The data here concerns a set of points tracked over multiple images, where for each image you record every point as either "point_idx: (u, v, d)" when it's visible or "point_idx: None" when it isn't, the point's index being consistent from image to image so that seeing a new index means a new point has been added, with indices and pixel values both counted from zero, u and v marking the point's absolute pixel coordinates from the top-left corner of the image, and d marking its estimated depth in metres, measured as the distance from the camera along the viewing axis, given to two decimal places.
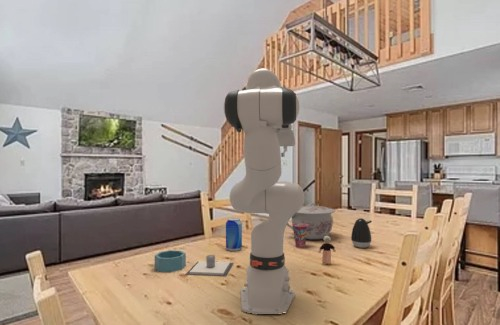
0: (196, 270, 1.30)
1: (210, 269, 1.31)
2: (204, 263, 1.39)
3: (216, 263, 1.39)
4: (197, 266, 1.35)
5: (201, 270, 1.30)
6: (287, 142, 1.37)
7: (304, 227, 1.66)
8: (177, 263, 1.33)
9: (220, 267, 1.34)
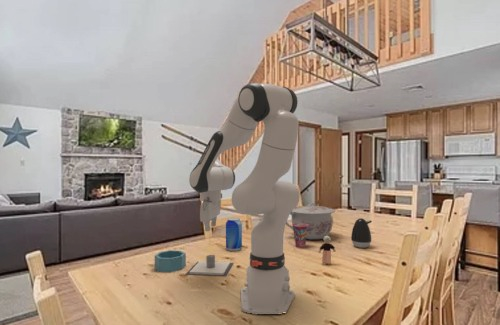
0: (196, 270, 1.30)
1: (210, 269, 1.31)
2: (204, 263, 1.39)
3: (216, 263, 1.39)
4: (197, 266, 1.35)
5: (201, 270, 1.30)
6: (218, 211, 1.41)
7: (304, 227, 1.66)
8: (177, 263, 1.33)
9: (220, 267, 1.34)
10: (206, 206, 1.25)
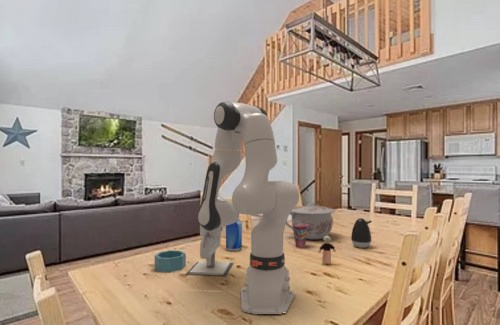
0: (196, 270, 1.30)
1: (210, 269, 1.31)
2: (204, 263, 1.39)
3: (216, 263, 1.39)
4: (197, 266, 1.35)
5: (201, 270, 1.30)
6: (218, 244, 1.41)
7: (304, 227, 1.66)
8: (177, 263, 1.33)
9: (220, 267, 1.34)
10: (206, 243, 1.25)
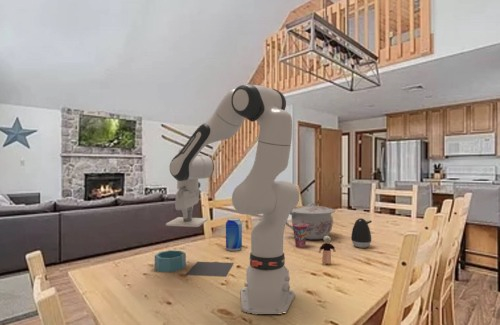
0: (172, 223, 1.32)
1: (186, 222, 1.33)
2: (182, 218, 1.41)
3: (194, 218, 1.41)
4: (174, 220, 1.37)
5: (177, 223, 1.32)
6: (196, 201, 1.43)
7: (304, 227, 1.66)
8: (177, 263, 1.33)
9: (197, 221, 1.35)
10: (181, 194, 1.27)
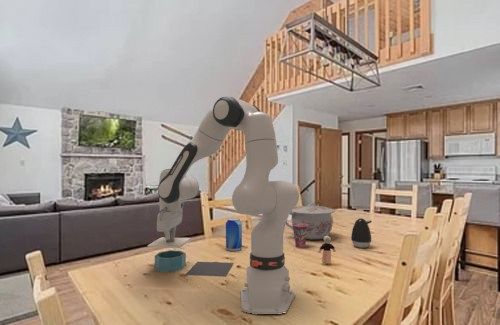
0: (154, 244, 1.33)
1: (168, 243, 1.34)
2: (165, 239, 1.41)
3: (177, 239, 1.41)
4: (157, 241, 1.37)
5: (159, 244, 1.32)
6: (179, 220, 1.43)
7: (304, 227, 1.66)
8: (177, 263, 1.33)
9: (179, 242, 1.36)
10: (163, 216, 1.28)
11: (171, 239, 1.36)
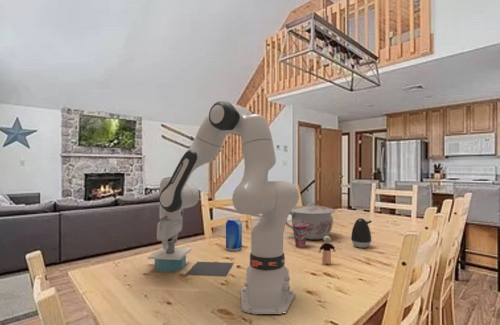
0: (154, 255, 1.32)
1: (169, 254, 1.34)
2: None
3: (177, 249, 1.41)
4: (157, 252, 1.37)
5: (159, 255, 1.32)
6: (179, 228, 1.43)
7: (304, 227, 1.66)
8: (177, 263, 1.33)
9: (179, 253, 1.36)
10: (163, 225, 1.28)
11: (171, 250, 1.36)
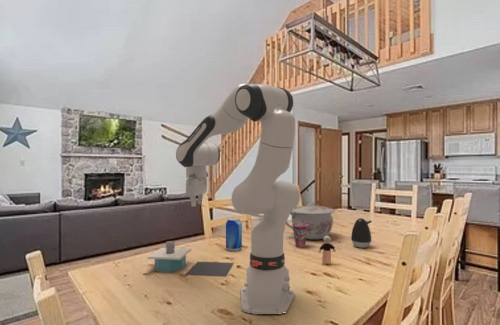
0: (154, 255, 1.32)
1: (169, 254, 1.34)
2: (165, 249, 1.41)
3: (177, 249, 1.41)
4: (157, 252, 1.37)
5: (159, 255, 1.32)
6: (204, 190, 1.46)
7: (304, 227, 1.66)
8: (177, 263, 1.33)
9: (179, 253, 1.36)
10: (192, 181, 1.30)
11: (171, 250, 1.36)
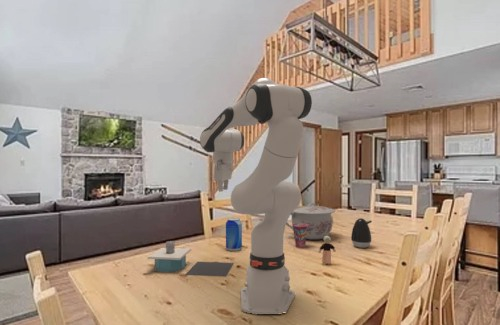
0: (154, 255, 1.32)
1: (169, 254, 1.34)
2: (165, 249, 1.41)
3: (177, 249, 1.41)
4: (157, 252, 1.37)
5: (159, 255, 1.32)
6: (230, 176, 1.48)
7: (304, 227, 1.66)
8: (177, 263, 1.33)
9: (179, 253, 1.36)
10: (220, 166, 1.33)
11: (171, 250, 1.36)
